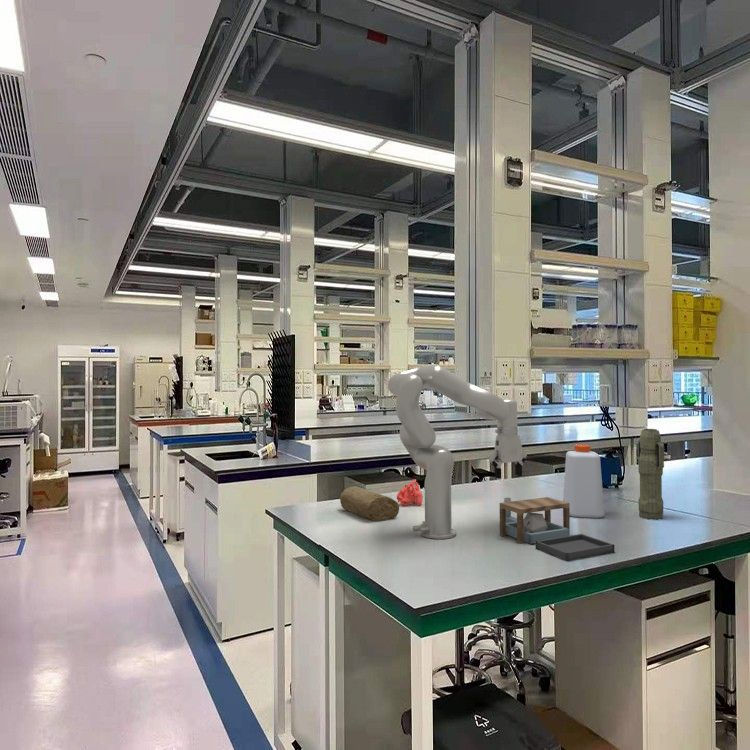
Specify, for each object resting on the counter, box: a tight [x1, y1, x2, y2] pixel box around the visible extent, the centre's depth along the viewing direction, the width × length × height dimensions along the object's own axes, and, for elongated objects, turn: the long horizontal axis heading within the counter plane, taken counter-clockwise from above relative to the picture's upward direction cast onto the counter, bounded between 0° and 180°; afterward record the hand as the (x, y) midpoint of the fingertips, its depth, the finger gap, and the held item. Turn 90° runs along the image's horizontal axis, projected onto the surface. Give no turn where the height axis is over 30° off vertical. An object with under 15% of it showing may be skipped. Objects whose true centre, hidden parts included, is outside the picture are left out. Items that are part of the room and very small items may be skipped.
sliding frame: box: [503, 497, 571, 545], centre depth 203 cm, size 24×17×10 cm
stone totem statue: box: [636, 428, 665, 521], centre depth 224 cm, size 9×12×35 cm
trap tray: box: [534, 533, 615, 562], centre depth 182 cm, size 20×14×2 cm
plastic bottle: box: [562, 444, 605, 519], centre depth 230 cm, size 15×15×28 cm
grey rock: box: [523, 512, 547, 533], centre depth 199 cm, size 8×9×10 cm
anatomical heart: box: [396, 479, 424, 507], centre depth 247 cm, size 9×12×12 cm
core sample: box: [339, 486, 400, 522], centre depth 231 cm, size 14×26×10 cm, turn 32°
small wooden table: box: [499, 496, 571, 545], centre depth 199 cm, size 22×11×12 cm, turn 115°
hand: (508, 476), depth 213 cm, fingers open, 9 cm apart
